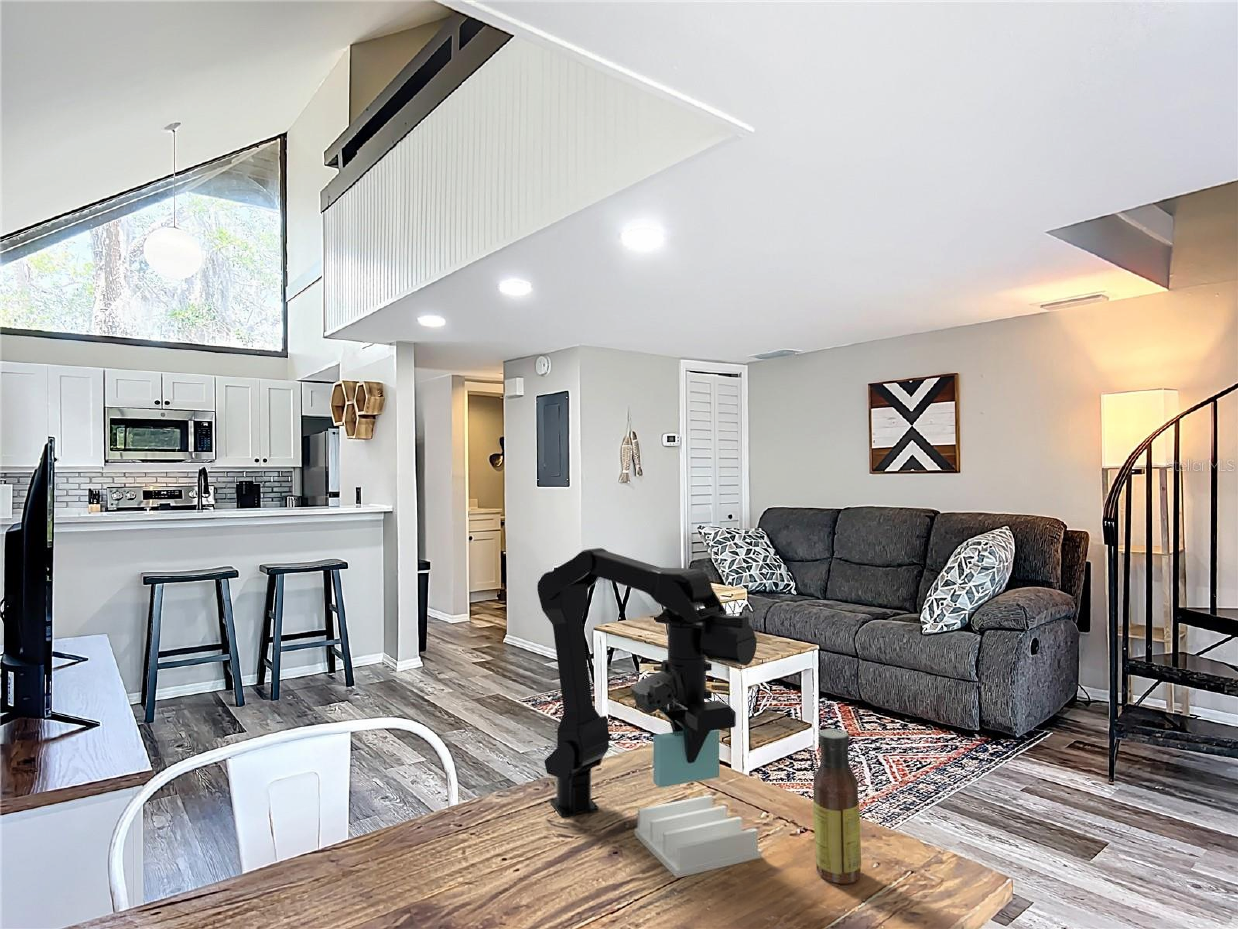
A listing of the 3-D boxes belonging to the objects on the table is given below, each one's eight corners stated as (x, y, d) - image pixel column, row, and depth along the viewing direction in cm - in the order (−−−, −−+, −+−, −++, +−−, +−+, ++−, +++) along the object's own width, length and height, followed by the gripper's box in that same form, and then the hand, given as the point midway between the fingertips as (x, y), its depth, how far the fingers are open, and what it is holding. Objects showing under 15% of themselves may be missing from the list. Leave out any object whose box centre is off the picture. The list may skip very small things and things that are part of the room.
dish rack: (634, 835, 119) (634, 809, 119) (712, 819, 125) (712, 794, 125) (676, 878, 107) (676, 849, 107) (761, 857, 112) (761, 830, 112)
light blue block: (653, 782, 114) (653, 735, 114) (712, 772, 118) (712, 726, 118) (659, 787, 112) (659, 739, 112) (719, 777, 116) (719, 730, 116)
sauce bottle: (856, 864, 110) (856, 726, 111) (865, 888, 104) (866, 741, 104) (809, 862, 111) (810, 724, 111) (816, 885, 105) (817, 739, 105)
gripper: (613, 647, 121) (613, 747, 120) (666, 675, 103) (666, 792, 103) (676, 640, 125) (676, 737, 125) (737, 667, 108) (738, 779, 108)
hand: (687, 759), depth 115 cm, fingers closed on light blue block, 2 cm apart
